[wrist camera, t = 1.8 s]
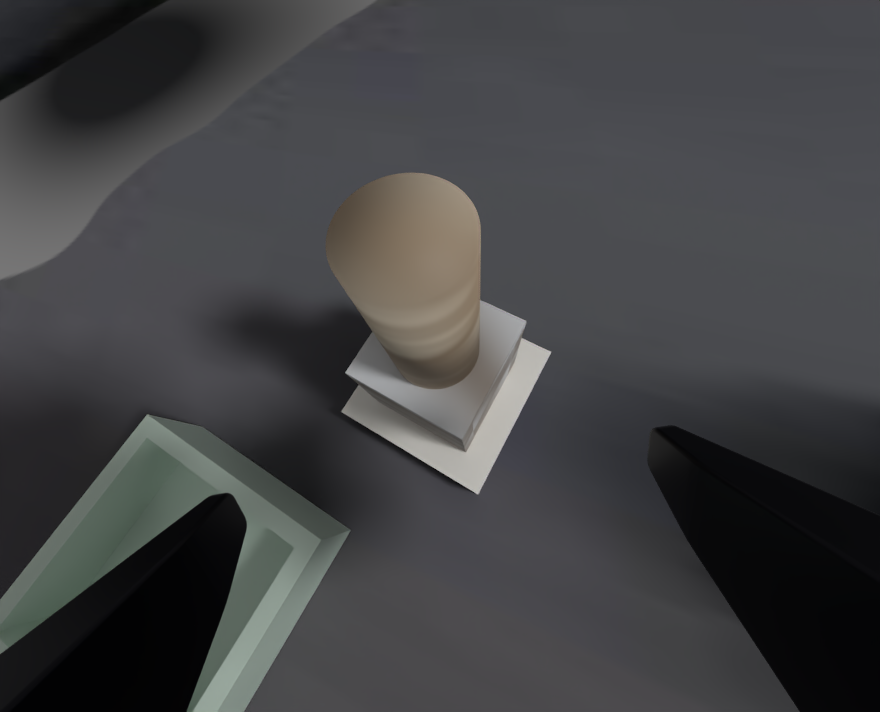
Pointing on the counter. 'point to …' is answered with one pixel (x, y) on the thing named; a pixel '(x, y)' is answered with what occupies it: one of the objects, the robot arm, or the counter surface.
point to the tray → (153, 510)
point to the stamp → (422, 303)
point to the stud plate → (488, 438)
